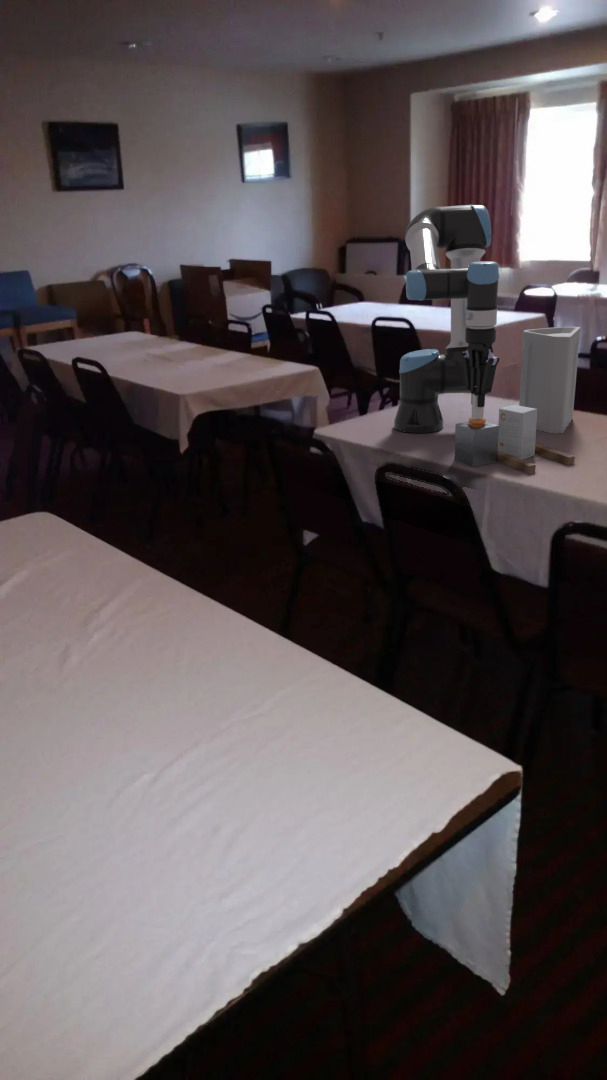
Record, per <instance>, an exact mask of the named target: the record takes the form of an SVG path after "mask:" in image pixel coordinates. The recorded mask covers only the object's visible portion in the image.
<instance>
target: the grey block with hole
mask: <svg viewBox="0 0 607 1080" xmlns="http://www.w3.org/2000/svg"><path fill="white" fill-rule="evenodd" d="M454 427H455V429H454V431H455V434H454V437H455V438H454V461H456V462H458V461H459V463H462V464H463V465H466V466H468V467H471V468H477V467H480V466H485V465H491V464H495V463H498V461H497V455H498V435H499V425H498V424H495V423H491V422H489V421H486V423H484V424H483V426H481V427H473V426H471V423H469V421H463V422H459V423H455V426H454Z"/></svg>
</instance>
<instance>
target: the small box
mask: <svg viewBox="0 0 607 1080" xmlns="http://www.w3.org/2000/svg"><path fill="white" fill-rule="evenodd" d="M536 424H537V409H535V408H529V407H524V406H519V404H511V405H508V406H502V407H500V408H499V409H498V424H497V425H499V435H498V451H500V452H502V453H505V454H508V455H511V456H513V457H516V458H519V459H522V460H526V459H528V458H532V457H534V456H535V455H536V453H535V443H537V442H536V438H537V429H536Z"/></svg>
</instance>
